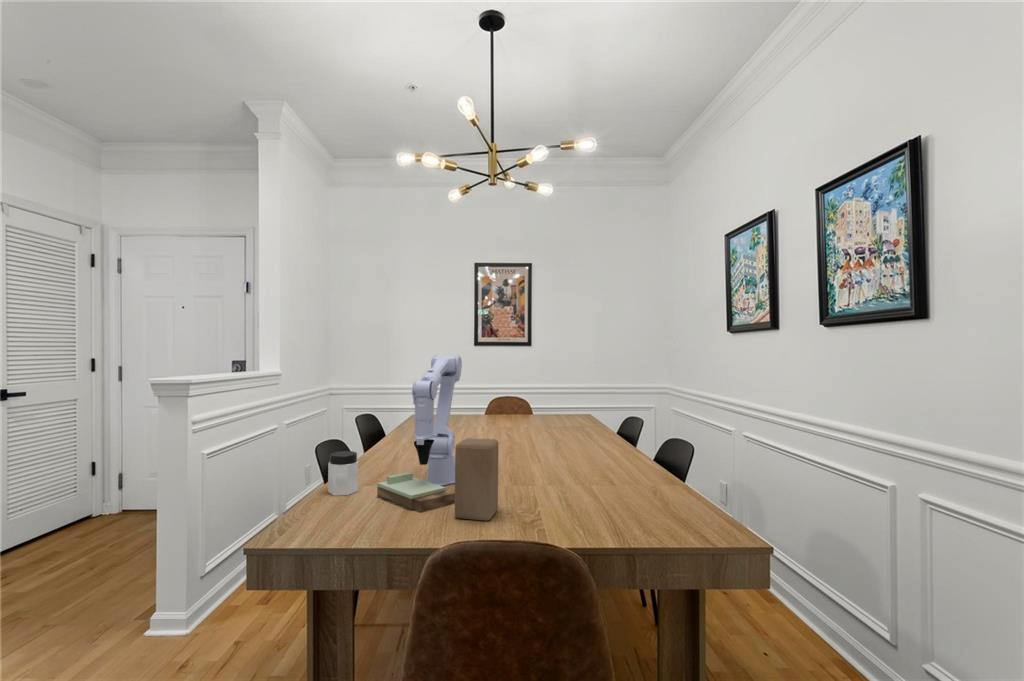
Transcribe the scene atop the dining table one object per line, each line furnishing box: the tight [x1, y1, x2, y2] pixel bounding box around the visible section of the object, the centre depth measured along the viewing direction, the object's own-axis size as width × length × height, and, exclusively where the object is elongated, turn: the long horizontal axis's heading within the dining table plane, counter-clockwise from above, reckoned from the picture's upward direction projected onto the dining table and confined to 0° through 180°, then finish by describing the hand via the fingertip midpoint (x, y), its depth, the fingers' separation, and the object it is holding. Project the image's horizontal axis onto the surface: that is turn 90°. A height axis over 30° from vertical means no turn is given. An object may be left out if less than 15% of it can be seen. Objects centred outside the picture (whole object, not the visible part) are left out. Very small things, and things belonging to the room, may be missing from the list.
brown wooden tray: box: [376, 486, 455, 513], centre depth 154 cm, size 18×21×3 cm
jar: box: [327, 450, 359, 497], centre depth 160 cm, size 9×8×12 cm
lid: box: [377, 471, 447, 499], centre depth 153 cm, size 12×18×3 cm, turn 45°
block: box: [454, 437, 499, 521], centre depth 139 cm, size 10×10×20 cm
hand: (423, 464), depth 156 cm, fingers closed
